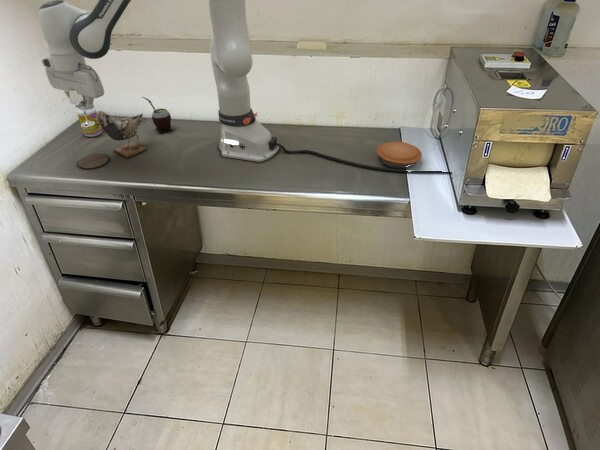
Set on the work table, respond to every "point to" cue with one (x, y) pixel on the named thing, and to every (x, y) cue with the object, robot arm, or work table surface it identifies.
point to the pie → (398, 154)
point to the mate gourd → (161, 118)
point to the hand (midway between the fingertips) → (82, 106)
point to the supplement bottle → (91, 116)
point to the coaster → (93, 161)
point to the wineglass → (80, 105)
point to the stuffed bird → (122, 131)
